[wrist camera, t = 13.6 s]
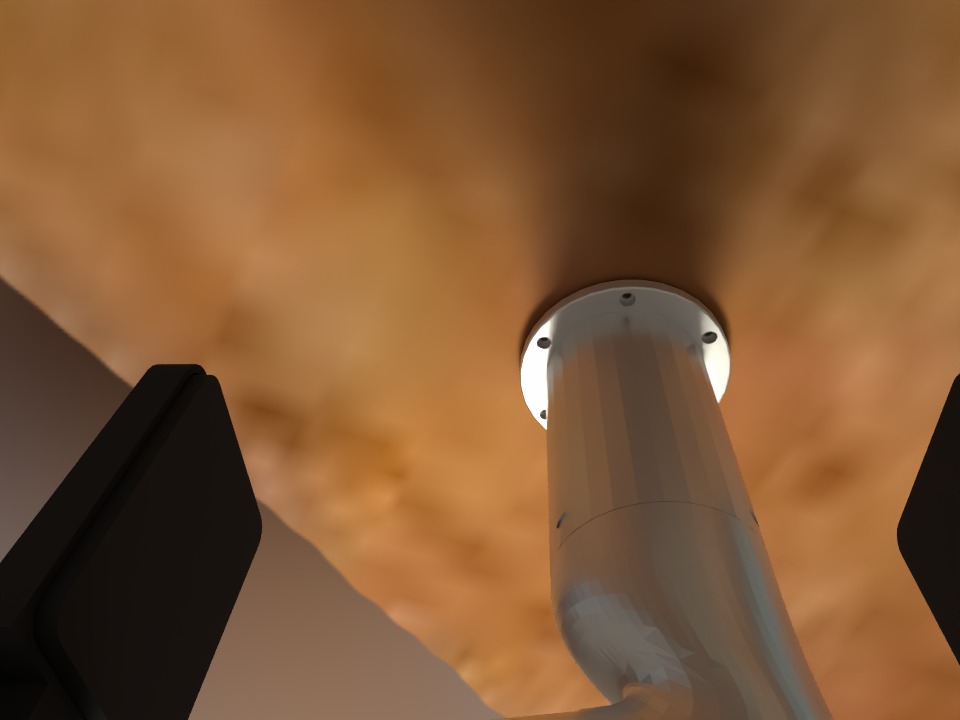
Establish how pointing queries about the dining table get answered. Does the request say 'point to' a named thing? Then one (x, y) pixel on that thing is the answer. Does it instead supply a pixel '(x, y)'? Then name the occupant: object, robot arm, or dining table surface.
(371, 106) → the dining table surface
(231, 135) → the dining table surface
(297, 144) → the dining table surface
